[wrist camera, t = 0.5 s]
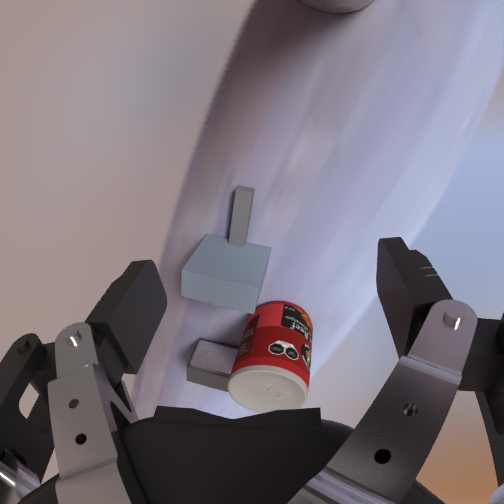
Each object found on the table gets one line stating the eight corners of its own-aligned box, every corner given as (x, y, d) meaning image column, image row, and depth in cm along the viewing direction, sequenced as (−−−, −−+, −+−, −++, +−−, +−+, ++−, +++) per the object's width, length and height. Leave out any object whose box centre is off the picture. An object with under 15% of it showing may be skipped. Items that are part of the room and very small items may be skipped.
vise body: (195, 334, 42) (181, 363, 37) (255, 349, 41) (246, 380, 37) (194, 361, 45) (182, 388, 40) (249, 375, 44) (241, 404, 40)
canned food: (320, 339, 38) (316, 410, 29) (262, 350, 41) (245, 417, 32) (301, 291, 36) (293, 364, 26) (238, 306, 38) (213, 374, 29)
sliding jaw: (212, 180, 31) (184, 206, 25) (281, 194, 31) (271, 224, 24) (205, 260, 36) (181, 299, 30) (265, 274, 35) (253, 317, 29)
